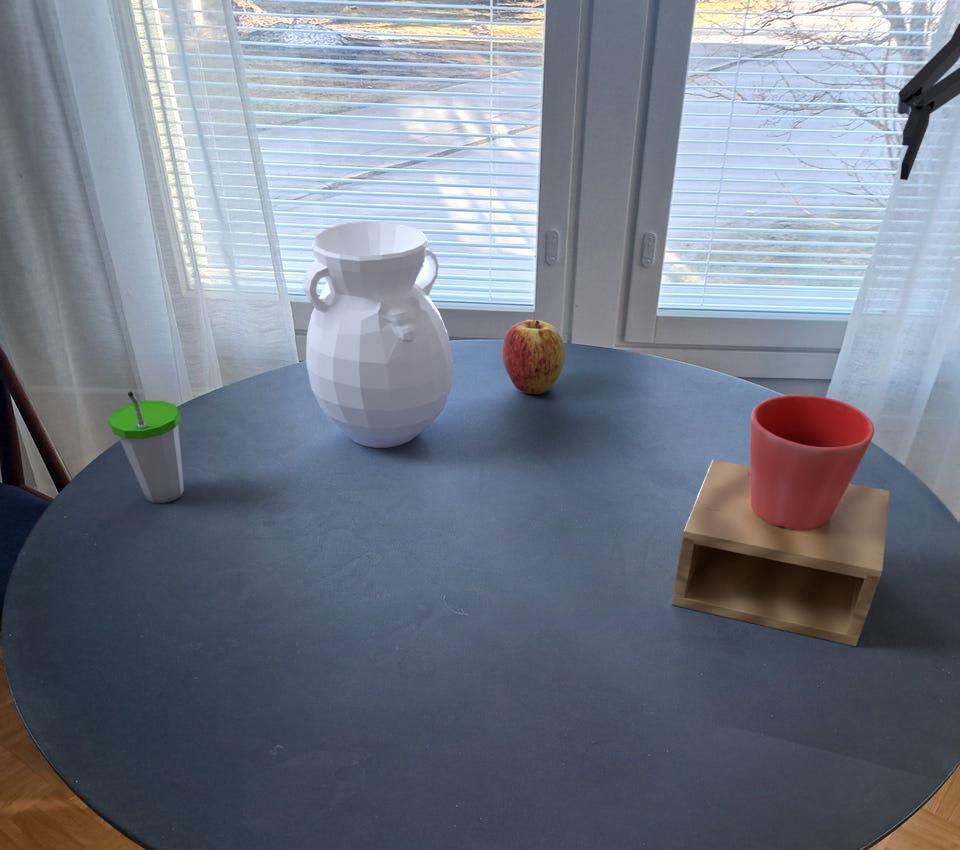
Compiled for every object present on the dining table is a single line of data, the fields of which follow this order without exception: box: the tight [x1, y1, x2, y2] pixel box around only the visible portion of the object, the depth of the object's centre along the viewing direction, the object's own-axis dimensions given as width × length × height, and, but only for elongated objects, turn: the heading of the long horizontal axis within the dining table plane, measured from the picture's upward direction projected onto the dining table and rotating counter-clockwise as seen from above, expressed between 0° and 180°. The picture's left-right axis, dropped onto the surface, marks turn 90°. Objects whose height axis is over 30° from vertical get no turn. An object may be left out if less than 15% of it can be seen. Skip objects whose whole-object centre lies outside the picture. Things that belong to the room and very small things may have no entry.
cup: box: [107, 391, 185, 504], centre depth 104 cm, size 8×8×15 cm
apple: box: [501, 319, 566, 395], centre depth 128 cm, size 9×9×10 cm
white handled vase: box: [302, 221, 454, 449], centre depth 113 cm, size 19×18×25 cm
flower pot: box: [749, 394, 875, 530], centre depth 86 cm, size 11×11×10 cm
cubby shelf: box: [671, 459, 891, 647], centre depth 92 cm, size 18×15×9 cm
